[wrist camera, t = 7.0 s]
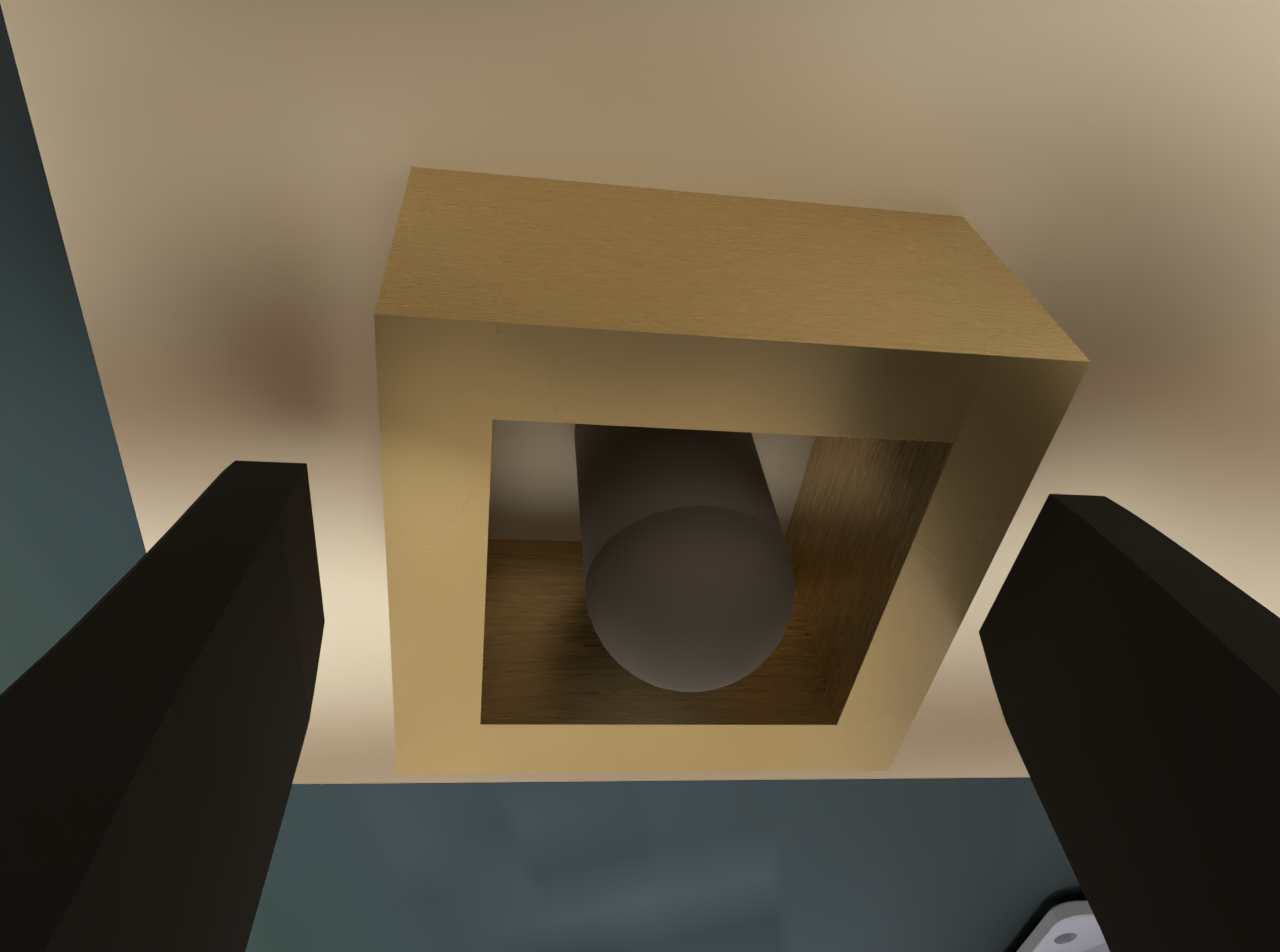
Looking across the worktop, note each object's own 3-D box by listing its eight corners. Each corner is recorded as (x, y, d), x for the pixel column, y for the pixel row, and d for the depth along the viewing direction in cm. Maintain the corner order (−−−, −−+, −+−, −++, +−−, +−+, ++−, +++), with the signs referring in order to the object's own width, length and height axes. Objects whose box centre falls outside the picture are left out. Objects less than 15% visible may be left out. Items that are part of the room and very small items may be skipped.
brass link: (827, 594, 13) (888, 770, 11) (419, 584, 12) (396, 774, 10) (962, 215, 10) (1089, 362, 7) (411, 166, 9) (373, 314, 7)
